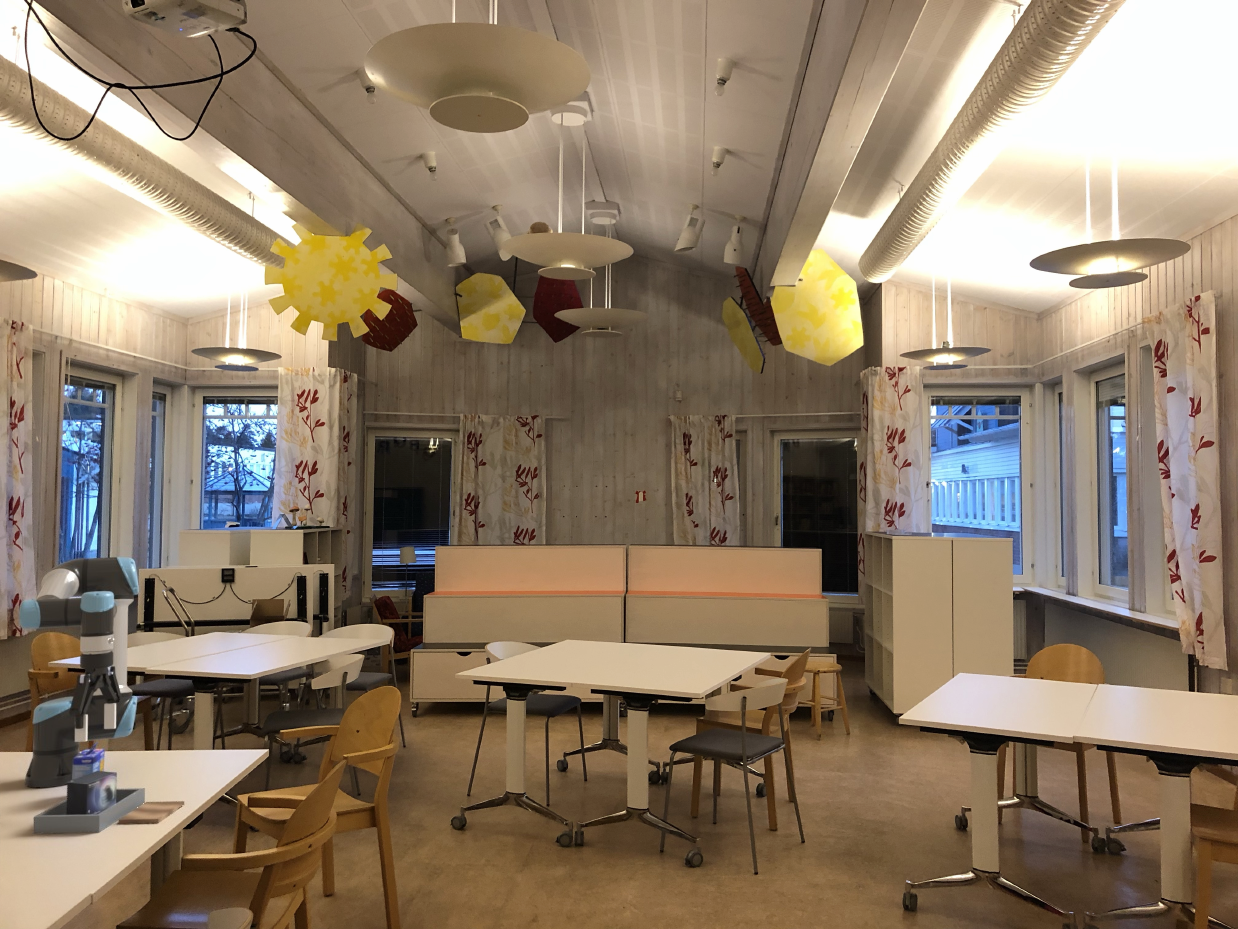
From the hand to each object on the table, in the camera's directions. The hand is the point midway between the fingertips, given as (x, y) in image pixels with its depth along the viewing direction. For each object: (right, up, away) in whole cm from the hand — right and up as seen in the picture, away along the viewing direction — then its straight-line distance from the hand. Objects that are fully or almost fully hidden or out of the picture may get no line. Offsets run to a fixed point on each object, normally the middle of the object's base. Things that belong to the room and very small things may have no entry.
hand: (95, 734), depth 237 cm
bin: (0, -21, -1) cm, 21 cm away
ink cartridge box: (-11, -22, +15) cm, 29 cm away
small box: (0, -21, -1) cm, 21 cm away
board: (+14, -21, +1) cm, 25 cm away
